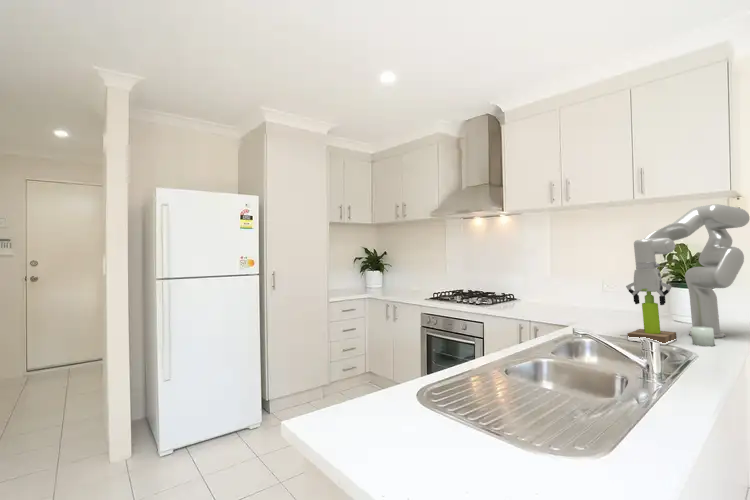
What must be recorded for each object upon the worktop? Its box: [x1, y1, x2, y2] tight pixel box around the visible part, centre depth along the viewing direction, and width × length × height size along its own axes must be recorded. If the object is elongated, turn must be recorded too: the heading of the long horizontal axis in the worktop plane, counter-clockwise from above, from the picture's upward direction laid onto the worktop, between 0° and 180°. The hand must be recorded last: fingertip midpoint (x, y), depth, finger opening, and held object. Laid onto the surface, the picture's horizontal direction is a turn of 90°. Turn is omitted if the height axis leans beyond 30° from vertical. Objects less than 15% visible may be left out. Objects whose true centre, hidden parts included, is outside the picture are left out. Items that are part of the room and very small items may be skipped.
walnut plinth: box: [627, 328, 678, 343], centre depth 169 cm, size 14×14×4 cm
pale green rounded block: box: [690, 326, 716, 347], centre depth 158 cm, size 7×7×7 cm
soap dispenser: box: [641, 289, 661, 334], centre depth 170 cm, size 6×7×20 cm
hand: (649, 304), depth 170 cm, fingers open, 9 cm apart
